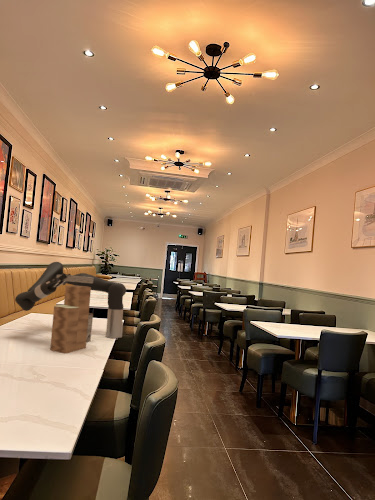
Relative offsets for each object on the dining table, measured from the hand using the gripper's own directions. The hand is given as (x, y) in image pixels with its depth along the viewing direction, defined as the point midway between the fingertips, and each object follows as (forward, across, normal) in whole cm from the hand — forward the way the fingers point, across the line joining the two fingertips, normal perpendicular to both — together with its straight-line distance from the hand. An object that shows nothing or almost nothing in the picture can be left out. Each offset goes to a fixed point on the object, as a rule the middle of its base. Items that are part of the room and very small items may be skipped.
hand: (68, 275), depth 192 cm
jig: (-12, -4, +36) cm, 38 cm away
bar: (+2, 0, +5) cm, 5 cm away
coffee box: (-19, +16, +32) cm, 41 cm away
